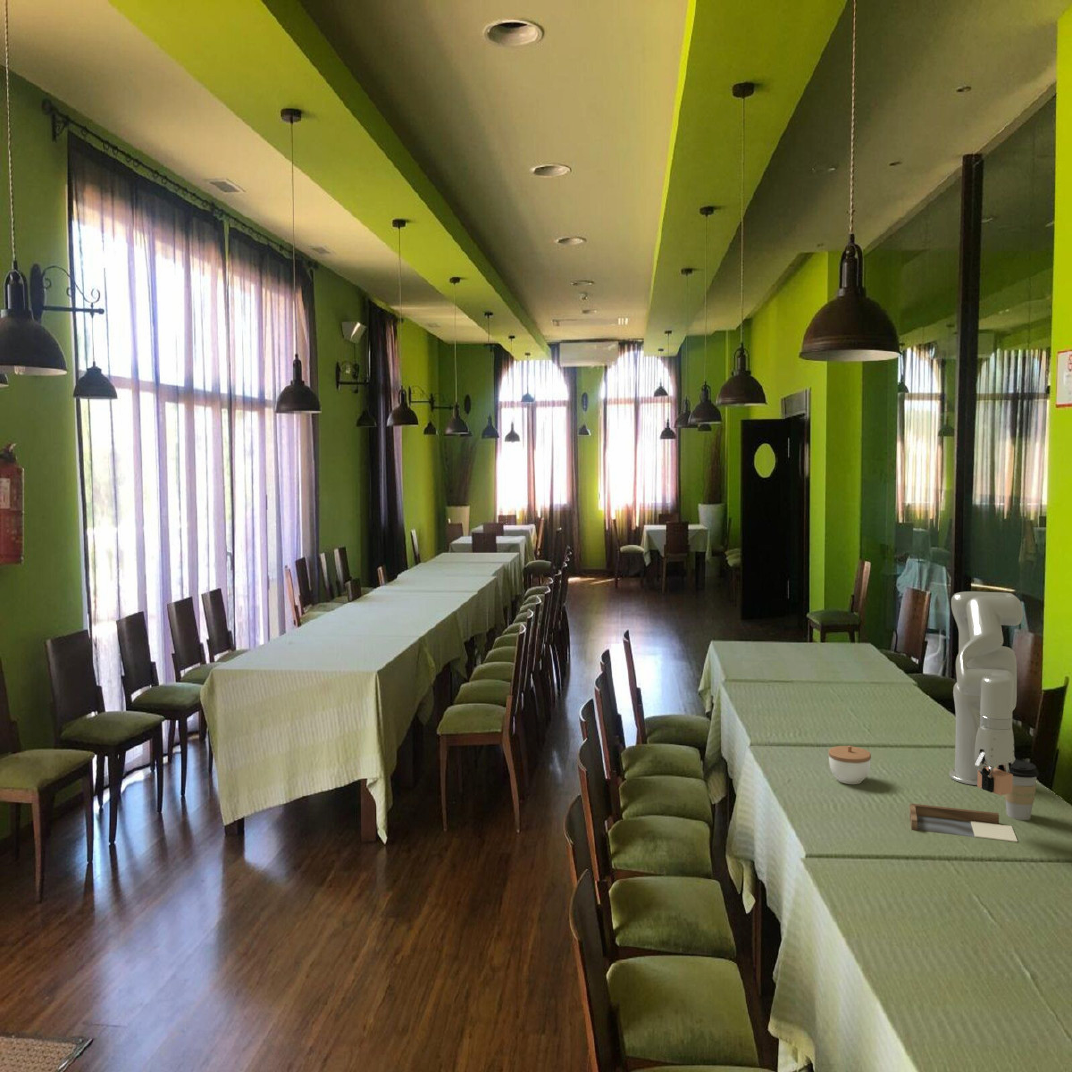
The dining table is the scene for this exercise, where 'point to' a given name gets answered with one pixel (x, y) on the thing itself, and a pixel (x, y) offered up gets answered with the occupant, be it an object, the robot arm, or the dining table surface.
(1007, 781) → the block
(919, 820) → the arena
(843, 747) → the lidded bowl
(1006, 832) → the pad
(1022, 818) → the coffee cup
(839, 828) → the dining table surface
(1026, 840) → the dining table surface
